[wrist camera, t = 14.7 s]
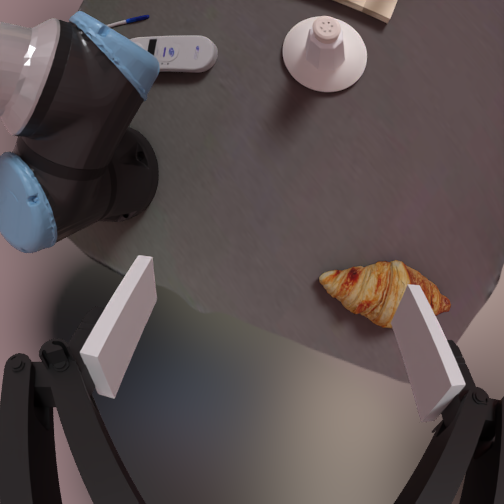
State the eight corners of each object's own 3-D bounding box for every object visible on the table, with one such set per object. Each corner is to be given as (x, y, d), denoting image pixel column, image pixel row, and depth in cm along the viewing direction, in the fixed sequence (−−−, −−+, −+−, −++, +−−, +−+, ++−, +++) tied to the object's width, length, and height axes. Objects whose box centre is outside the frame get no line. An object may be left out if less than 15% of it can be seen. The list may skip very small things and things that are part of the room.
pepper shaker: (312, 29, 34) (309, -3, 24) (351, 44, 34) (361, 16, 23) (298, 62, 36) (291, 40, 26) (337, 78, 36) (344, 59, 26)
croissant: (316, 280, 51) (308, 324, 46) (327, 237, 43) (320, 285, 38) (435, 303, 47) (437, 345, 42) (462, 266, 40) (469, 312, 35)
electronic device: (191, 60, 31) (87, 64, 32) (215, 74, 40) (124, 72, 41) (199, 19, 29) (94, 28, 30) (221, 40, 38) (130, 41, 39)
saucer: (270, 73, 38) (270, 72, 37) (300, 7, 33) (300, 5, 33) (348, 105, 37) (349, 105, 37) (377, 38, 33) (378, 36, 32)
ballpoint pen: (150, 14, 37) (147, 12, 36) (150, 18, 37) (146, 17, 37) (97, 29, 39) (93, 27, 38) (96, 33, 39) (93, 32, 38)
